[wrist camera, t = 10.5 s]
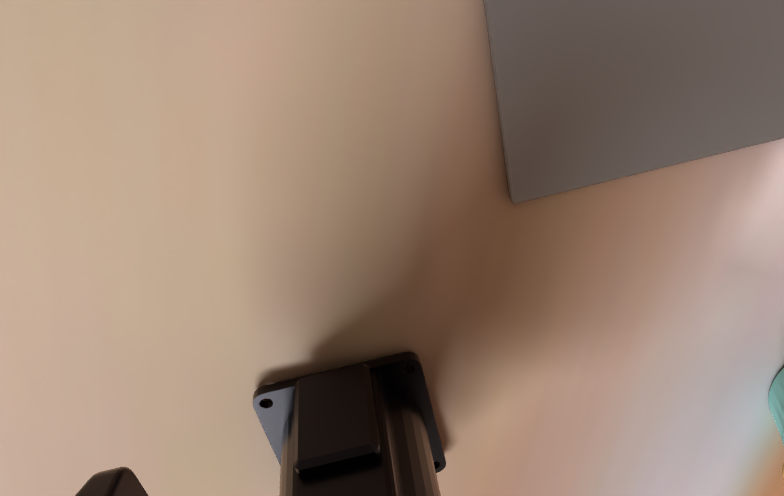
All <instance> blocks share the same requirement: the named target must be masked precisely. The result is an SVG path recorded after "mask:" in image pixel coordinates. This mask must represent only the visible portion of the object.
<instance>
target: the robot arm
mask: <svg viewBox="0 0 784 496" xmlns="http://www.w3.org/2000/svg"><path fill="white" fill-rule="evenodd" d="M406 364H412V366H410V367H403V366H404V365H406ZM266 398H268V399H271V400H270V401H264V400H262V399H266ZM253 407H254V409H255V411H256V413H257V416H258V418H259V420H260V422H261V424H262V427H263V429H264V431H265V433H266V435H267V438H268V440H269V442H270V444H271V446H272V448H273V451H274V453H275V455H276V457H277V459H278V462H279V464H280V466H281V474H280V496H441V495H440V490H439V486H438V481H437V476H436V473H437V472H440V471H441V470H443V469H444V468H445V466H446V461H445V456H444V452H443V448H442V444H441V441H440V437H439V433H438V429H437V425H436V421H435V417H434V413H433V409H432V405H431V401H430V397H429V393H428V389H427V385H426V381H425V377H424V373H423V370H422V366H421V362H420V358H419V357H418V355H416V354H415V353H412V352H404V353H400V354H395V355H391V356H387V357H383V358H379V359H375V360H371V361H366V362H362V363H358V364H354V365H350V366H346V367H342V368H338V369H333V370H329V371H325V372H321V373H317V374H313V375H309V376H304V377H300V378H296V379H292V380H288V381H284V382H280V383H275V384H271V385H267V386H263V387H261V388H258V389H257V390H256V391H255V392H254V395H253ZM433 461H434V462H433ZM75 496H148V494H147V493H146V491H145V490H144V488H143V487H142V485H141V484H140V482H139V480H138V479H137V477H136V476H135V474H134V473H133V472H132V470H131V469H129V468H127V467H119V468H115V469H111V470H107V471H102V472H99V473H97V474H95V475H93V476H92V477H91V478H90V479H89V480H88V481H87V482H86V484H85V485H84V486H83V487H82V488H81V489H80V491H79V492H78V493H77V494H76V495H75Z"/></svg>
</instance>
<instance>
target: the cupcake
mask: <svg viewBox="0 0 784 496" xmlns="http://www.w3.org/2000/svg"><path fill="white" fill-rule="evenodd" d="M768 403H769V407H770V410H771V412H772V415H773V417H774V420H775V422H776V425H777V427H778V430H779V432H780V435H781V438H782V441H783V445H784V368H783V369H782V370H781V371H780V372H779V373H778V375H777V376H776V378H775V379H774V381H773V383H772V385H771V388H770V391H769V396H768ZM783 477H784V464H783Z"/></svg>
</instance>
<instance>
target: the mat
mask: <svg viewBox="0 0 784 496" xmlns="http://www.w3.org/2000/svg"><path fill="white" fill-rule="evenodd" d="M484 6H485V13H486V21H487V29H488V36H489V44H490V51H491V59H492V66H493V74H494V81H495V89H496V97H497V104H498V112H499V119H500V127H501V134H502V142H503V149H504V157H505V164H506V172H507V180H508V187H509V195H510V200H511V201H512V203H513V204H516V203H520V202H524V201H528V200H532V199H537V198H541V197H545V196H549V195H553V194H557V193H561V192H565V191H569V190H573V189H577V188H582V187H586V186H590V185H594V184H598V183H602V182H606V181H610V180H614V179H618V178H622V177H627V176H631V175H635V174H639V173H643V172H647V171H651V170H655V169H659V168H663V167H668V166H672V165H676V164H680V163H684V162H688V161H692V160H696V159H700V158H704V157H708V156H713V155H717V154H721V153H725V152H729V151H733V150H737V149H741V148H745V147H749V146H753V145H758V144H762V143H766V142H770V141H774V140H778V139H782V138H784V0H484Z"/></svg>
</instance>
